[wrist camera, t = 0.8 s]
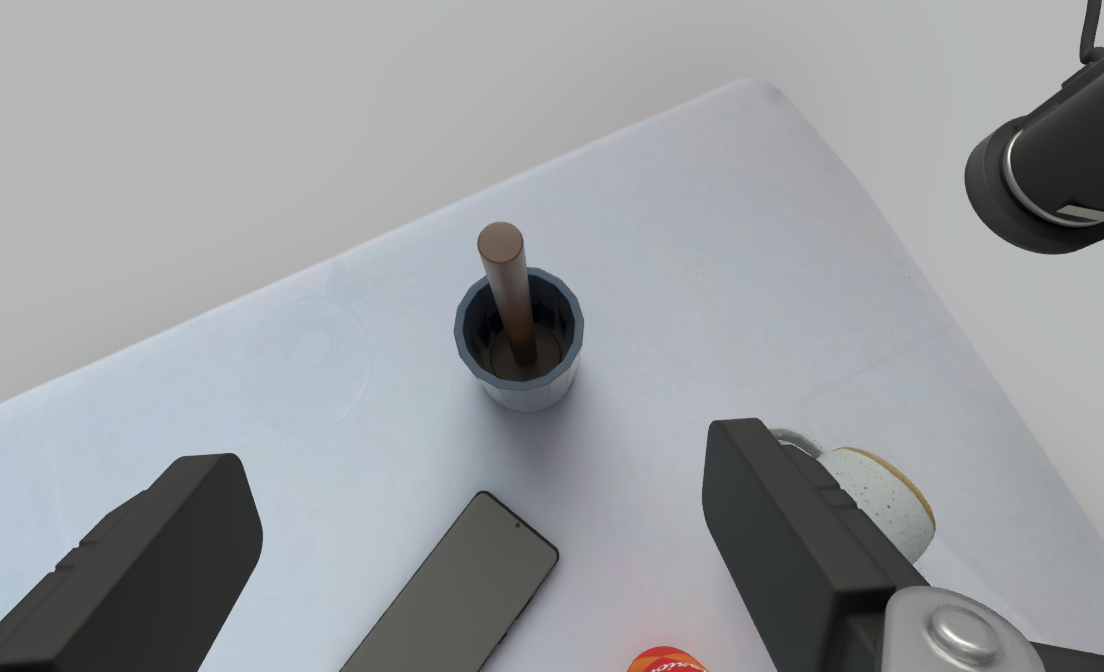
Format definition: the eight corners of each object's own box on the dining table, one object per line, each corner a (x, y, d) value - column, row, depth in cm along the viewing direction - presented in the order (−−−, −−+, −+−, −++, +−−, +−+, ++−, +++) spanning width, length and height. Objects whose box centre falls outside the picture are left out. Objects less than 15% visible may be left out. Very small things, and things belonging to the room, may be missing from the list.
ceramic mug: (893, 532, 35) (983, 545, 28) (803, 611, 34) (872, 647, 26) (784, 404, 37) (840, 384, 30) (696, 473, 36) (732, 471, 29)
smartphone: (324, 689, 32) (481, 486, 35) (330, 683, 33) (483, 486, 36) (409, 771, 31) (563, 555, 34) (413, 762, 32) (563, 552, 35)
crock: (486, 313, 39) (464, 260, 29) (579, 322, 39) (588, 272, 29) (472, 406, 37) (445, 383, 28) (570, 417, 37) (577, 396, 27)
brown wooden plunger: (498, 326, 38) (442, 174, 19) (563, 333, 38) (575, 187, 19) (489, 391, 37) (420, 300, 18) (556, 399, 37) (562, 314, 18)
